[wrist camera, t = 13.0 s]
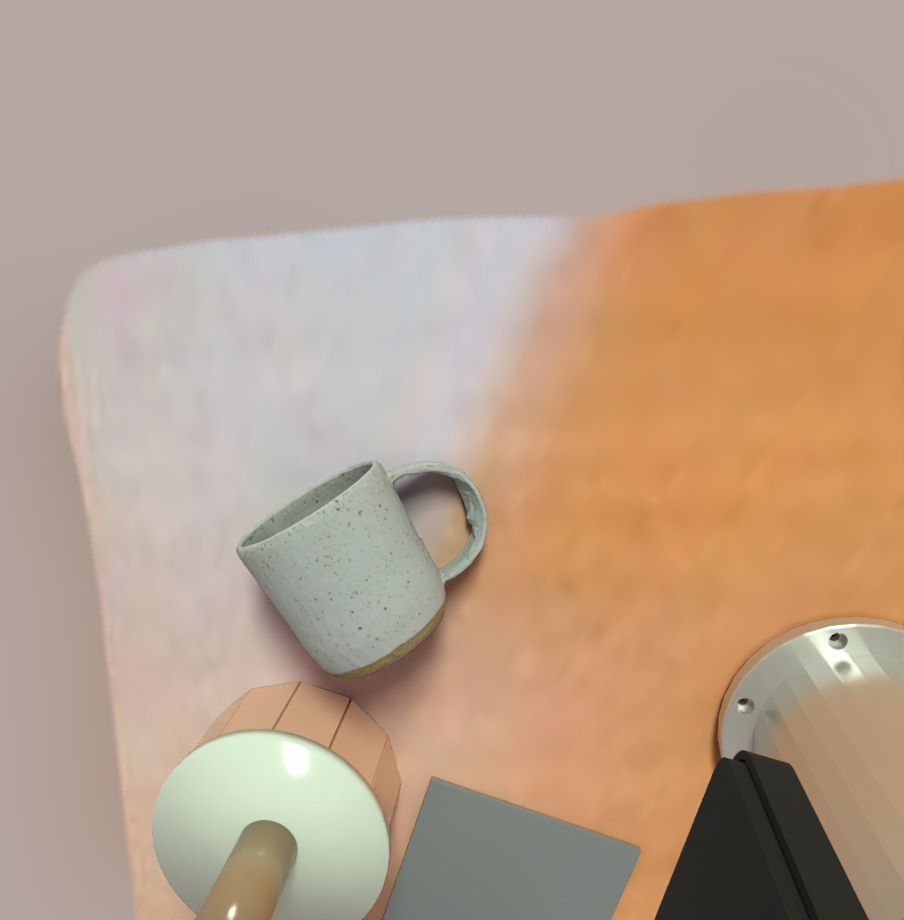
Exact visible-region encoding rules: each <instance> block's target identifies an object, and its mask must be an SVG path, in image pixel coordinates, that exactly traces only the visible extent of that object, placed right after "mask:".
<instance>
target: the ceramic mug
mask: <svg viewBox="0 0 904 920" xmlns="http://www.w3.org/2000/svg"><path fill="white" fill-rule="evenodd" d="M425 472H436V473H439V474H444V475H447V476H448V477H451V478H452V479H453V480H454V481H455V483H456V486H457V488H458V490H459V492H460V495H461V497H462V499H463V501H464V504H465V507H466V510H467V516H466V519H467V520H468V522H469V523H470V524H471V525H472V532H471V534H470V537H469V539H468V541H467V544H466V546H465V547H464V548H463V549H462V550H461V551H460V552H459V554H458V555H457V556H456V557H455V558H454V559H452V560H451V561H450V562H449V563H448V564H447V565H445V566H444V567H442V568H441V569H439V570H438V569H437V567H436V565H435V563H434V562H433V560H432V558H431V556H430V554H429V552H428V551H427V549H426V547H425V545H424V543H423V541H422V539H421V538H419V536H418V534H417V532H416V530H415V528H414V526H413V524H412V521H411V519H410V517H409V515H408V513H407V511H406V510H405V508H404V505H403V504H402V503H401V500H400V498H399V496H398V494H397V493H396V491H395V489H394V487H393V486H394V483H395V481H397V480H398V479H400V478H402V477H405V476H409V475H413V474H419V473H425ZM487 525H488V517H487V510H486V507H485V504H484V501H483V498H482V496H481V494H480V492H479V489H478V487H477V486H476V485H475V483H474V482H473V481H472V479H471V478H470V477H469V476H468V475H467V474H465V473H464V472H462V471H460V470H459V469H457V468H455V467H452V466H449V465H446V464H442V463H437V462H416V463H411V464H407V465H404V466H400V467H397V468H394V469H392V470H390V471H387V472H385V470H384V469H383V467H382V466H381V464H380V463H379V462H377V461H369V462H363V463H361V464H357V465H354V466H352V467H349V468H347V469H346V470H344V471H342V472H340V473H338V474H335V475H333V476H331V477H329V478H327V479H325V480H323V481H321V482H320V483H318V484H316V485H314V486H313V487H310V488H308V489H307V490H306V491H304V492H302V493H300V494H299V495H297V496H296V497H295V498H293V499H292V500H290V501H288V502H287V503H285V504H283V505H282V506H281V507H279V508H278V509H276V510H275V511H273V512H272V513H270V514H269V515H267V516H266V517H265V518H264V519H263V520H262V521H261V522H259V523H258V524H256V525H255V526H254V527H253V528H252V529H251V530H250V531H249V532H248V533H247V534H246V535H245V536H244V537H243V538H242V539H241V541H240V542H239V544H238V546H237V548H236V550H237V553H238V556H239V558H240V559H241V561H242V562H243V563H244V565H245V566H246V568H247V569H248V570H249V572H250V573H251V574H252V575H253V577H254V578H255V579H256V581H257V582H258V584H259V585H260V587H261V588H262V590H263V591H264V592H265V594H266V595H267V596H268V598H269V599H270V601H271V602H272V603H273V605H274V606H275V608H276V609H277V611H278V612H279V613H280V615H281V616H282V617H283V618H284V620H285V621H286V622H287V624H288V625H289V627H290V628H291V630H292V631H293V633H294V634H295V636H296V637H297V639H298V640H299V641H300V643H301V644H302V646H303V647H304V649H305V650H306V651H307V653H308V654H309V655H310V656H311V657H312V659H313V660H315V661H316V662H317V663H318V664H319V665H320V666H321V667H322V668H323V669H324V670H325V671H326V672H327V673H329V674H331V675H333V676H335V677H337V678H343V679H348V678H360V677H363V676H366V675H369V674H372V673H375V672H377V671H379V670H381V669H383V668H385V667H387V666H389V665H391V664H393V663H394V662H396V661H397V660H399V659H400V658H402V657H403V656H405V655H406V654H408V653H409V652H411V651H412V650H413V649H414V648H416V647H417V646H418V645H419V644H420V643H421V642H423V641H424V640H425V639H426V638H427V637H428V636H429V635H430V634H431V633H432V632H433V631H434V629H435V628H436V627H437V625H438V624H439V623H440V621H441V619H442V617H443V615H444V611H445V607H446V603H447V596H446V592H445V588H444V586H445V583H446V582H447V581H448V580H450V579H453V578H454V577H455V576H457V575H458V574H460V573H462V572H463V571H464V570H465V569H466V568H467V567H468V566H469V565H470V564H471V563H472V562H473V561H474V559H475V558H476V556H477V555H478V554H479V552H480V551H481V549H482V547H483V544H484V540H485V537H486V532H487Z"/></svg>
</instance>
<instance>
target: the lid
mask: <svg viewBox="0 0 904 920" xmlns="http://www.w3.org/2000/svg"><path fill="white" fill-rule="evenodd" d="M152 835H153V843H154V848H155V852H156V856H157V859H158V862H159V864H160V867H161V869H162V871H163V873H164V875H165V877H166V879H167V880H168V882H169V884H170V885H171V887H172V888H173V889H174V891H175V892H176V894H177V895H178V896H179V897H180V898H181V900H182V901H183V902H184V903H185V904H186V905H187V906H188V907H189V908H190V909H191V910H192V911H194V912H195V913H196V914H197V917H196V919H195V920H362V919H363V918H364V916H365V915H366V914H367V913H368V912H369V911H370V910H371V908H372V907H373V905H374V904H375V902H376V901H377V899H378V897H379V895H380V892H381V890H382V888H383V885H384V881H385V877H386V874H387V870H388V866H389V862H390V853H391V840H390V831H389V826H388V821H387V818H386V815H385V813H384V810H383V807H382V805H381V803H380V801H379V799H378V797H377V795H376V794H375V792H374V791H373V789H372V788H371V786H370V785H369V783H368V782H367V781H366V780H365V778H364V777H363V776H362V775H361V774H360V773H359V772H358V770H357V769H355V768H354V767H353V766H352V765H351V764H350V763H349V762H348V761H347V760H345V759H344V758H343V757H341V756H340V755H338V754H337V753H336V752H334V751H333V750H331V749H329V748H327V747H326V746H324V745H322V744H320V743H318V742H316V741H313V740H311V739H309V738H306V737H304V736H300V735H297V734H293V733H290V732H285V731H279V730H273V729H247V730H239V731H234V732H229V733H225V734H223V735H220V736H217V737H214V738H212V739H210V740H208V741H206V742H204V743H202V744H200V745H199V746H198V747H196V748H195V749H194V750H192V751H191V752H189V753H188V754H187V755H186V756H185V757H184V758H183V759H182V760H181V761H180V762H179V764H178V765H177V766H176V768H175V769H174V771H173V772H172V773H171V775H170V776H169V777H168V779H167V780H166V781H165V783H164V785H163V787H162V789H161V791H160V793H159V795H158V798H157V801H156V804H155V807H154V813H153V819H152Z"/></svg>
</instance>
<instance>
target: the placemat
mask: <svg viewBox="0 0 904 920" xmlns="http://www.w3.org/2000/svg"><path fill="white" fill-rule="evenodd" d="M640 853H641V851H640V847H638V846H635V845H632V844H629V843H626V842H623V841H620V840H617V839H614V838H612V837H609V836H606V835H603V834H600V833H597V832H594V831H591V830H588V829H585V828H582V827H579V826H576V825H573V824H570V823H567V822H564V821H562V820H559V819H556V818H553V817H550V816H547V815H544V814H541V813H538V812H535V811H532V810H529V809H526V808H523V807H520V806H517V805H514V804H512V803H509V802H506V801H503V800H500V799H497V798H494V797H491V796H488V795H485V794H482V793H479V792H476V791H473V790H470V789H467V788H465V787H462V786H459V785H456V784H453V783H450V782H447V781H444V780H441V779H438V778H435V777H432V778H431V781H430V783H429V786H428V789H427V792H426V795H425V798H424V801H423V804H422V806H421V809H420V812H419V815H418V818H417V821H416V824H415V827H414V829H413V832H412V835H411V838H410V841H409V844H408V847H407V850H406V852H405V855H404V858H403V861H402V864H401V867H400V870H399V873H398V875H397V878H396V881H395V884H394V887H393V890H392V893H391V896H390V898H389V901H388V904H387V907H386V910H385V913H384V916H383V919H382V920H611V918H612V916H613V914H614V911H615V909H616V907H617V905H618V902H619V900H620V898H621V896H622V893H623V891H624V889H625V887H626V884H627V882H628V880H629V878H630V875H631V873H632V871H633V868H634V866H635V864H636V862H637V859H638V857H639V855H640Z"/></svg>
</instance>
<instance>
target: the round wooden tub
mask: <svg viewBox="0 0 904 920" xmlns="http://www.w3.org/2000/svg"><path fill="white" fill-rule="evenodd" d="M349 700H350V698H348V697H345V696H342V695H339V694H336V693H333V692H330V691H327V690H324V689H321V688H318V687H316V686H313V685H310V684H307V683H304V682H301V684H300V683H299V682H294V683H287V684H281V685H275V686H268V687H262V688H256V689H251V691H250V690H249V691H248V692H247V693H246V694H244V695H243V696H242V697H241V698H240V699H239V700H237V701H236V702H235V703H234V704H233V705H232V706H230V707H229V708H228V709H227V710H226V711H225V712H223V713H222V714H221V715H220V716H219V717H218V718H216V720H215V721H214V722H213V724H212V725H211V727H210V728H209V729H208V731H207V732H206V734H205V735H204V736H203V738H202V739H201V741H200V742H199V743H198V745H197V746H196V747H198V746H199V745H200V744H202V743H204V742H206V741H208V740H210V739H212V738H214V737H217V736H220V735H223V734H225V733H229V732H234V731H239V730H247V729H273V730H279V731H285V732H290V733H293V734H297V735H300V736H304V737H306V738H309V739H311V740H313V741H316V742H318V743H320V744H322V745H324V746H326V747H327V748H329V749H331V750H333V751H334V752H336V753H337V754H338V755H340V756H341V757H343V758H344V759H345V760H347V761H348V762H349V763H350V764H351V765H352V766H353V767H354V768H355V769H357V770H358V772H359V773H360V774H361V775H362V776H363V777H364V778H365V780H366V781H367V782H368V783H369V785H370V786H371V788H372V789H373V791H374V792H375V794H376V795H377V797H378V799H379V801H380V803H381V805H382V807H383V810H384V813H385V815H386V818H387V821H388V826H389V825H390V821H391V818H392V814H393V810H394V807H395V803H396V799H397V796H398V792H399V789H400V785H401V784H400V783H401V781H400V777H399V773H398V769H397V766H396V762H395V758H394V755H393V751H392V747H391V744H390V740H389V737H388V738H387V734H386V733H385V732H384V731H383V730H382V729H381V728H380V727H379V726H378V725H377V724H376V723H375V722H374V721H373V720H372V719H371V718H370V717H369V716H368V715H367V714H366V713H365V712H364V711H363V710H362V709H361V708H360V707H359V706H358V705H357V704H356V703H355V702H354V701H353V700H351V701H350V702H349ZM196 747H195V748H196Z"/></svg>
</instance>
